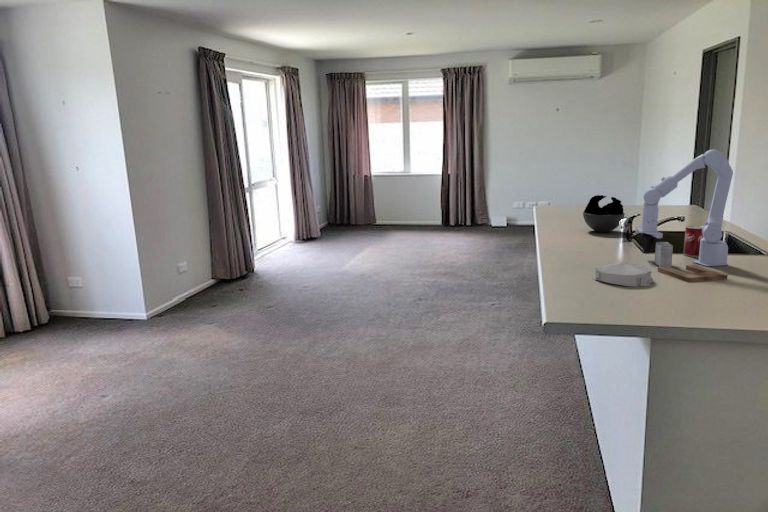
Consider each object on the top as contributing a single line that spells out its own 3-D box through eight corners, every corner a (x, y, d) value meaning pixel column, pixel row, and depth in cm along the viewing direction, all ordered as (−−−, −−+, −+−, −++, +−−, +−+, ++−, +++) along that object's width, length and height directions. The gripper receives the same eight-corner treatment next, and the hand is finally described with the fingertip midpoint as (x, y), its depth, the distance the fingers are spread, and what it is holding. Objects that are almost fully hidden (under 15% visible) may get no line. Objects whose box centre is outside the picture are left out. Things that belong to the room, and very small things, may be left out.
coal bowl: (578, 228, 310) (580, 193, 306) (617, 228, 307) (620, 193, 303) (586, 235, 291) (588, 197, 286) (627, 235, 288) (630, 197, 284)
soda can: (701, 254, 244) (703, 225, 242) (704, 257, 238) (707, 228, 235) (681, 253, 247) (684, 225, 244) (684, 256, 240) (687, 228, 237)
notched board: (695, 268, 220) (695, 264, 220) (727, 278, 205) (727, 274, 205) (657, 271, 217) (657, 267, 217) (687, 282, 202) (687, 277, 202)
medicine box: (671, 267, 222) (673, 245, 220) (659, 267, 223) (660, 245, 221) (666, 263, 230) (668, 241, 228) (654, 262, 231) (655, 241, 229)
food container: (616, 290, 195) (618, 271, 194) (581, 275, 214) (583, 257, 212) (666, 286, 200) (668, 267, 199) (628, 271, 219) (629, 254, 217)
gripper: (629, 217, 239) (627, 249, 242) (652, 222, 225) (649, 257, 228) (645, 216, 240) (642, 248, 243) (668, 221, 226) (665, 255, 229)
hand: (647, 252), depth 235 cm, fingers closed
